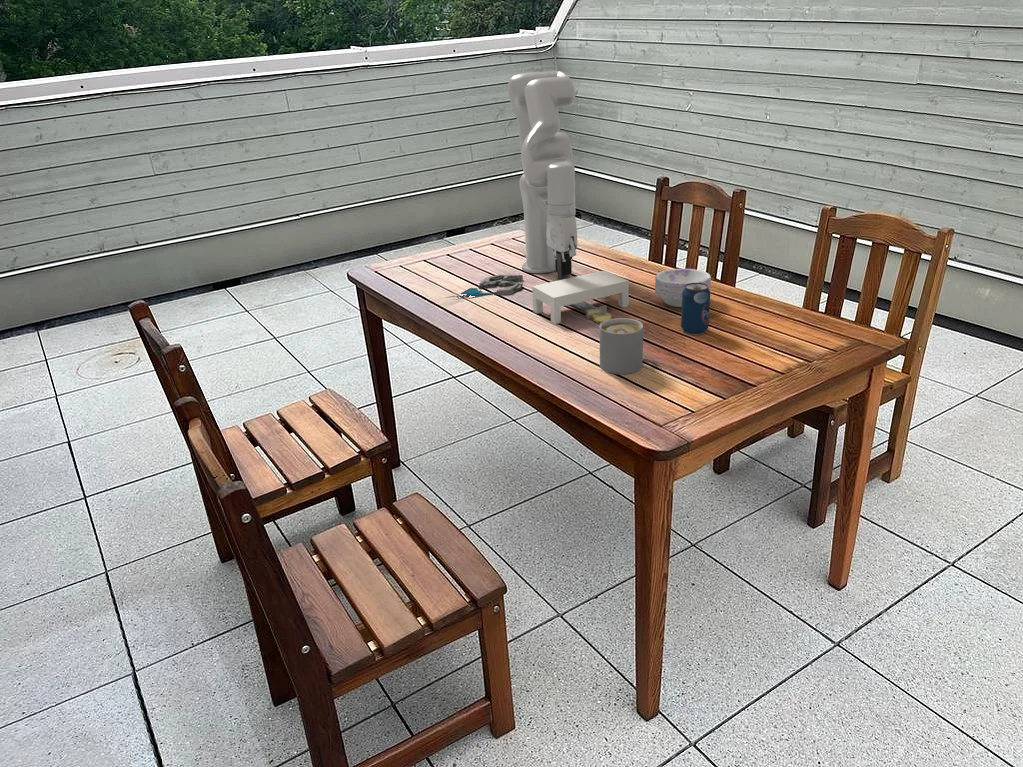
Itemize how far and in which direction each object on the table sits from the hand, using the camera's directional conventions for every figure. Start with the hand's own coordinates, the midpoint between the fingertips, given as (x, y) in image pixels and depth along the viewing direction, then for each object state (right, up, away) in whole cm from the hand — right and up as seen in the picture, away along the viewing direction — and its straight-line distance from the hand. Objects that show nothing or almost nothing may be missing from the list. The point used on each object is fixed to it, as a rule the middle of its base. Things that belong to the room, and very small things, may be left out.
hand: (563, 272), depth 221 cm
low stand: (+5, -11, -4) cm, 12 cm away
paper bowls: (+33, -9, -3) cm, 35 cm away
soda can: (+32, -18, -23) cm, 44 cm away
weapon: (-26, -5, +15) cm, 30 cm away
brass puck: (+10, -15, -13) cm, 22 cm away
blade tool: (+4, -10, -3) cm, 12 cm away
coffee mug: (+12, -27, -39) cm, 49 cm away
